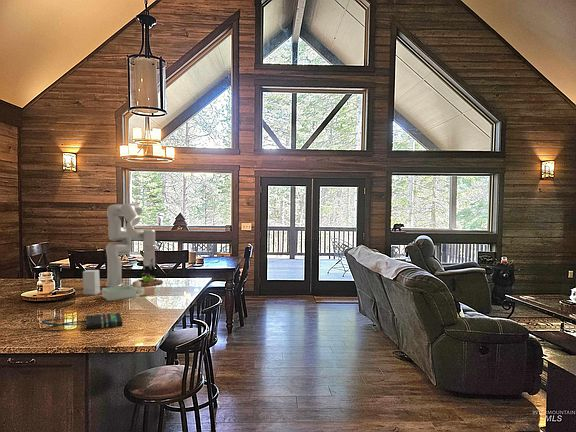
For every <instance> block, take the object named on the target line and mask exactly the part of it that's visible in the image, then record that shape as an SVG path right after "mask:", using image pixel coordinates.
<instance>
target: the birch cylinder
mask: <svg viewBox="0 0 576 432" xmlns="http://www.w3.org/2000/svg"><path fill="white" fill-rule="evenodd" d="M132 283H133V285H132V287H134V288H136V294H140V293H141V292H142V287H141V281H137V280H135V282H134V281H132Z"/></svg>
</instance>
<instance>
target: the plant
mask: <svg viewBox="0 0 576 432" xmlns="http://www.w3.org/2000/svg"><path fill="white" fill-rule="evenodd" d="M141 275H144V276H141V279H140V278H139V279H137V280H135V281H141V288H144V287H149V286H152V287H156V286H161V285H162V284H164V282H163V280H161V279H157V278H155V276H153V275H150V273H146V274H145V272H142V273H141ZM135 281H133V282H135ZM133 282H132V284H131V286H133Z"/></svg>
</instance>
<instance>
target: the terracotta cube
mask: <svg viewBox="0 0 576 432" xmlns="http://www.w3.org/2000/svg"><path fill="white" fill-rule="evenodd" d="M143 288H144V289H143V294H144V295H145V296H146V297H148V296H154V295H155V286H149V287H143Z"/></svg>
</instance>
